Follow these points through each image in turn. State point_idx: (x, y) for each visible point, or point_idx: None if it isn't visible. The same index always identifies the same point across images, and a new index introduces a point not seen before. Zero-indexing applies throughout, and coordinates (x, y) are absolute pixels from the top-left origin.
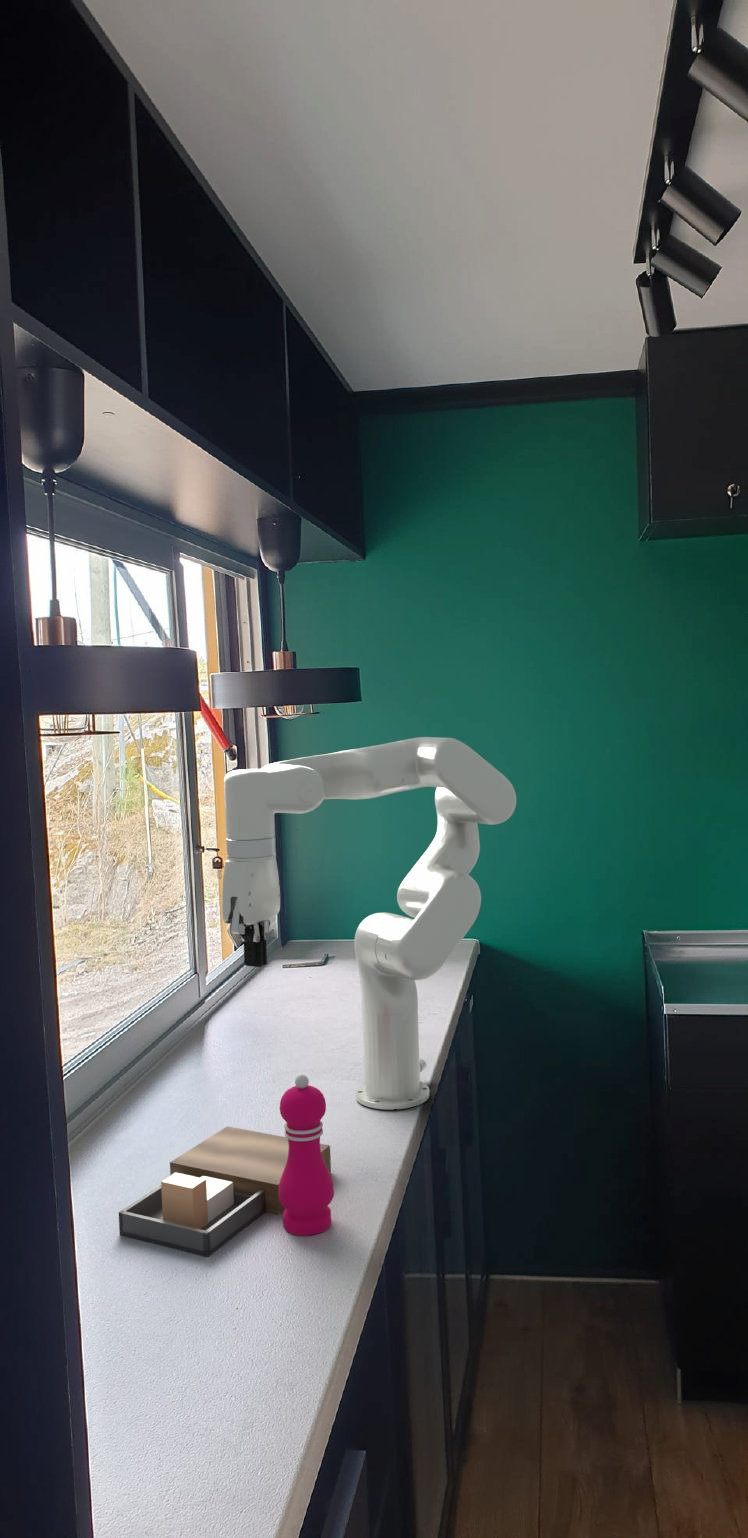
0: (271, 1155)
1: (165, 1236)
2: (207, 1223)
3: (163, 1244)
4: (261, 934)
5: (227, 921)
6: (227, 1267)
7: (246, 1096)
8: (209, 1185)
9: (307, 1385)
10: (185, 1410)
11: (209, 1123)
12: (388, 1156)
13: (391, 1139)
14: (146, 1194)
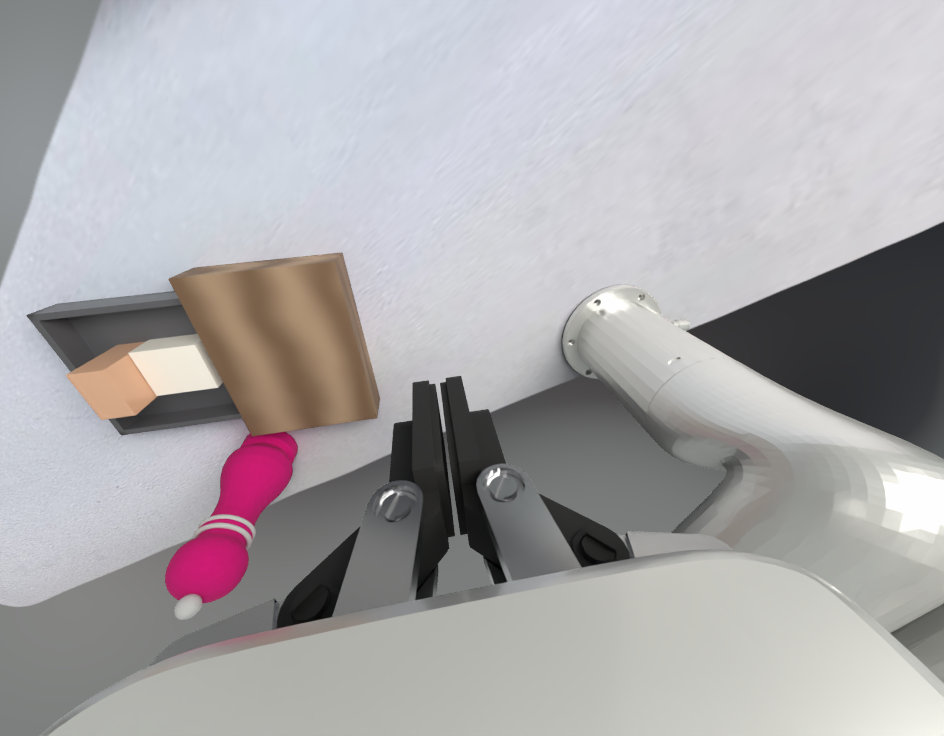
0: (304, 383)
1: None
2: None
3: None
4: (486, 555)
5: (150, 687)
6: (148, 442)
7: (545, 106)
8: (185, 371)
9: (112, 562)
10: (4, 537)
11: (408, 133)
12: None
13: (488, 400)
14: (96, 307)
